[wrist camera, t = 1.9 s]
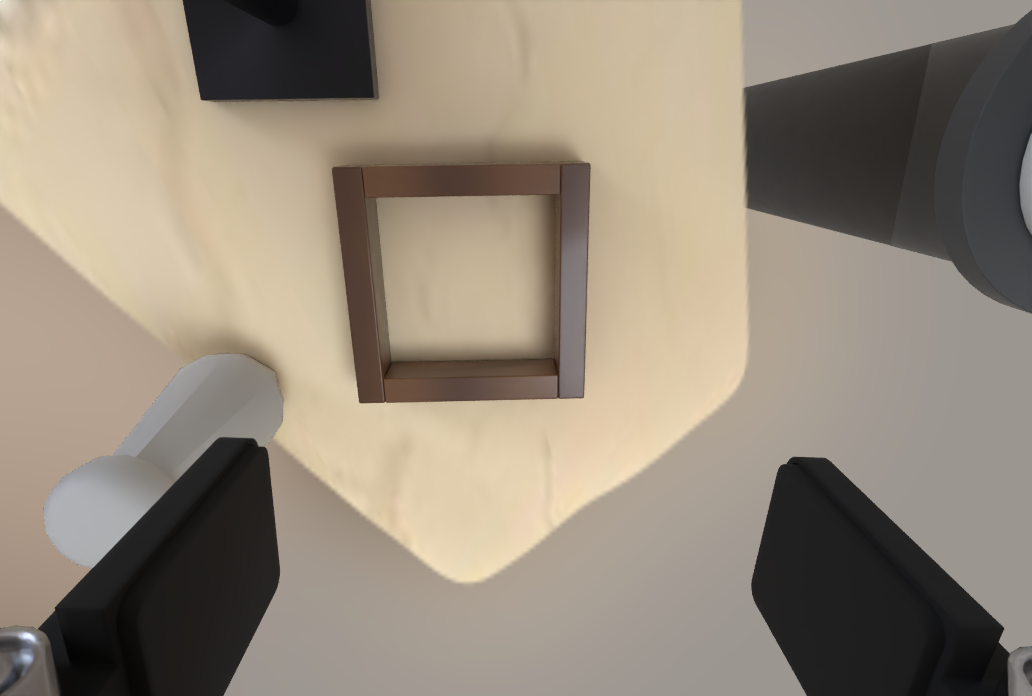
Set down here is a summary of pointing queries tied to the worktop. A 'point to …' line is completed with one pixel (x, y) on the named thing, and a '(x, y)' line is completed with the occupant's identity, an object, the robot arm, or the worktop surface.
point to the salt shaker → (161, 451)
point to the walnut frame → (368, 297)
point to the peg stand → (283, 49)
